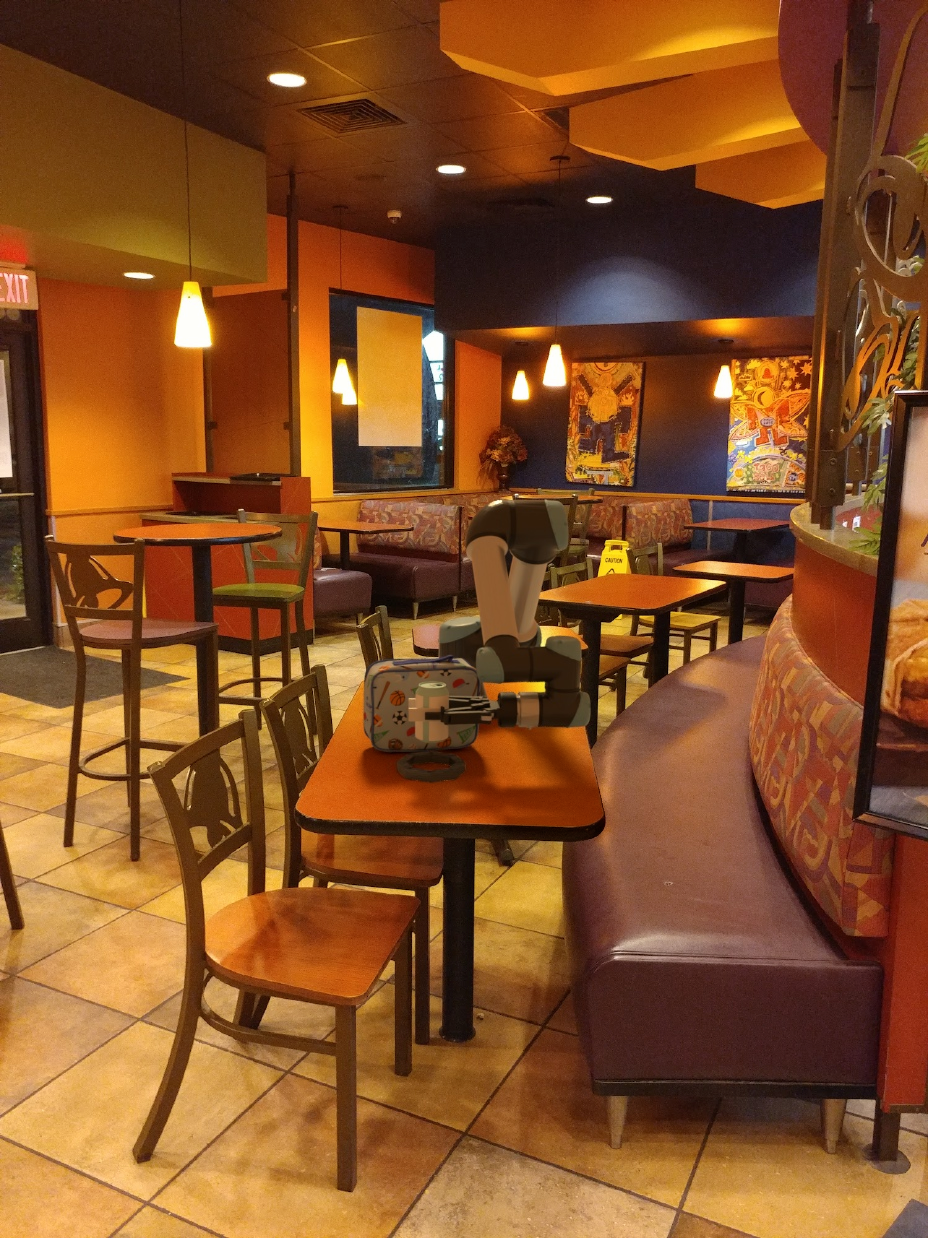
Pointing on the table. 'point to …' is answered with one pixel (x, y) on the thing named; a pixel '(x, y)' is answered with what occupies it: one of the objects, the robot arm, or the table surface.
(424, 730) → the can
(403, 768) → the ring
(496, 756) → the table surface
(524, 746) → the table surface
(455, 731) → the lunch box
